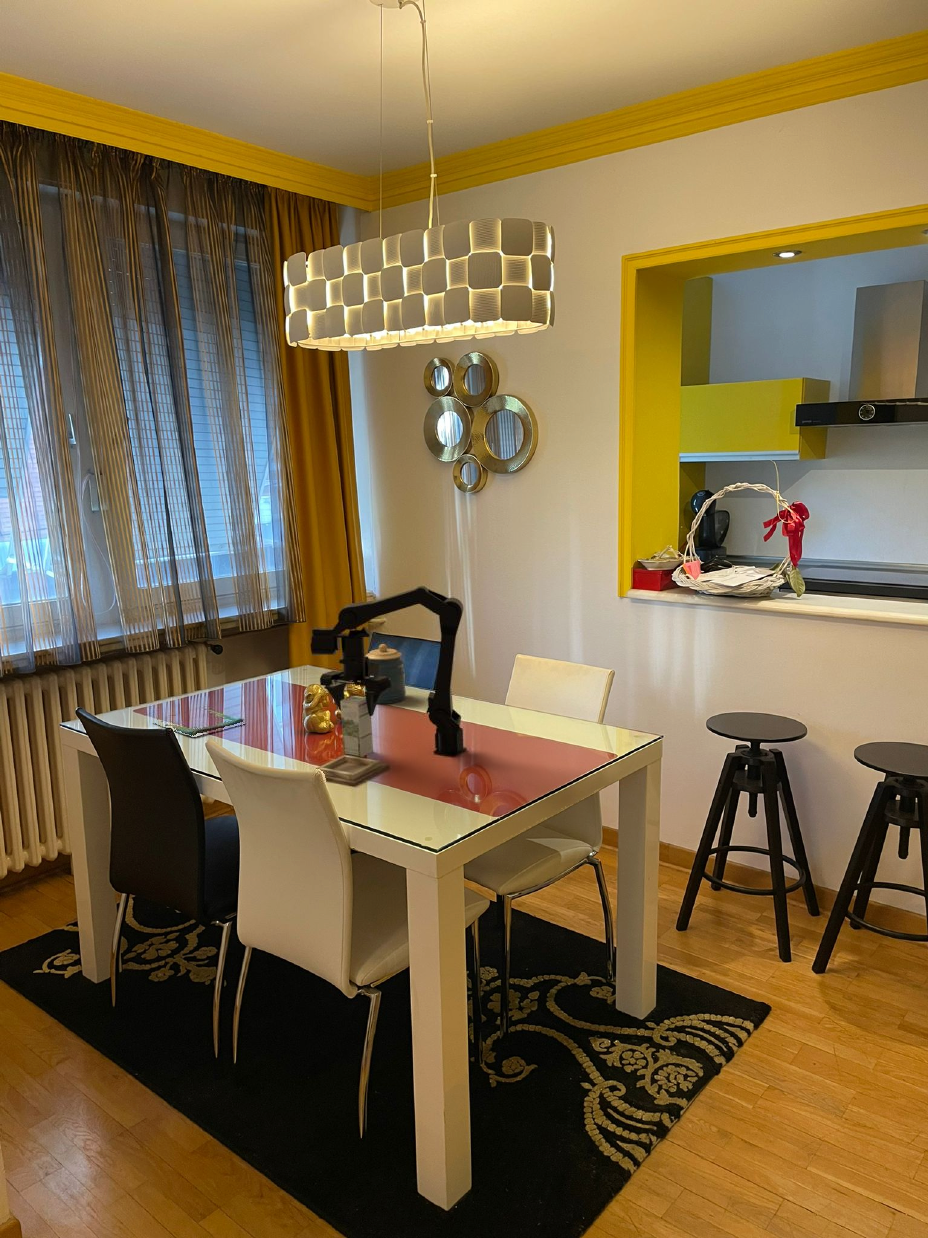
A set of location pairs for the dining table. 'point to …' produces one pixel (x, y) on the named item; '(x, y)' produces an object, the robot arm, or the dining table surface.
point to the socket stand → (351, 770)
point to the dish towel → (205, 729)
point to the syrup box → (356, 727)
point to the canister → (389, 673)
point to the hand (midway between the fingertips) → (356, 713)
